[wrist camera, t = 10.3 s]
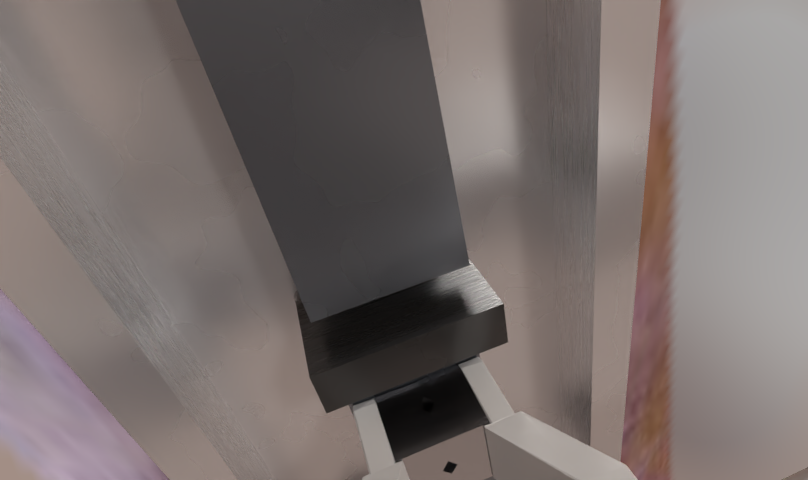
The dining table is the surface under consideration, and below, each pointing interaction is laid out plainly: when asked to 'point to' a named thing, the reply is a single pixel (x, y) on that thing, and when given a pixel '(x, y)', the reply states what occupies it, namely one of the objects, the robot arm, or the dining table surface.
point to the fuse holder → (261, 256)
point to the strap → (337, 139)
